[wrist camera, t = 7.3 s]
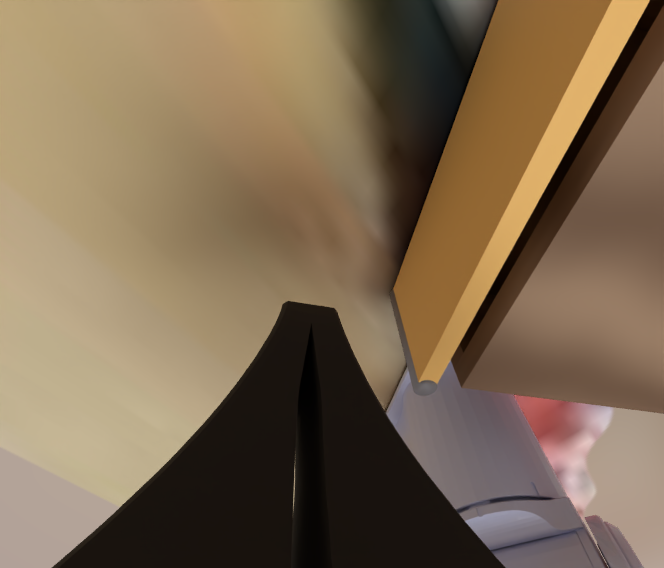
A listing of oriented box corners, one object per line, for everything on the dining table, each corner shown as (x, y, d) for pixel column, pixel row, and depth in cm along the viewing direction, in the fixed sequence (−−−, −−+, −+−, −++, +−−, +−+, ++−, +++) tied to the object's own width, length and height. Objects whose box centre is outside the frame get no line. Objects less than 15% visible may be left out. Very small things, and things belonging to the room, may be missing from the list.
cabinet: (578, 314, 21) (671, 414, 16) (423, 289, 20) (461, 387, 14) (788, 40, 14) (1123, 40, 8) (556, -27, 12) (753, -85, 7)
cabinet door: (404, 302, 20) (432, 397, 15) (387, 299, 20) (409, 394, 15) (536, -31, 12) (704, -90, 7) (509, -39, 12) (659, -105, 7)
